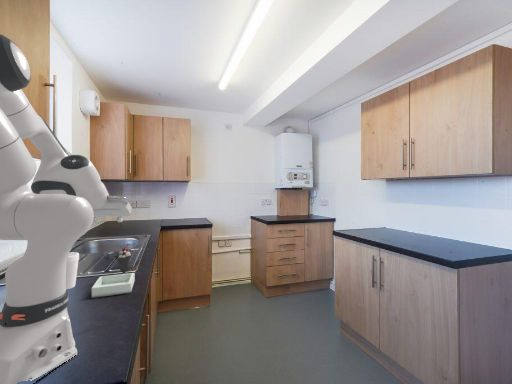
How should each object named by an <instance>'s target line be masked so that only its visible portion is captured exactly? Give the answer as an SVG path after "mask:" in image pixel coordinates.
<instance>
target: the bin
mask: <svg viewBox="0 0 512 384" xmlns="http://www.w3.org/2000/svg"><path fill="white" fill-rule="evenodd" d="M135 276H136V274H135V272H131V273H128V272H127V273H125V274H121V273H120V274H112V275H111V274H110V275H102V276H99V277H98V279H96V282H95V283H94V284H93V286H92V287H91V298H92V299H93V298H99V297H101V298H102V297H106V296H115V295H123V294H131V293H132V290H133V287H134V284H135V282H136V278H135Z"/></svg>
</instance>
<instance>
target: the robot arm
mask: <svg viewBox="0 0 512 384" xmlns="http://www.w3.org/2000/svg"><path fill="white" fill-rule="evenodd" d="M31 80H32V77H31V69H30V65H29V62H28V59H27V58H26V56H25V54H24V52H23V51H22V50H21V49H20V48H19V47H18V46H17V44H16V43H15V42H14V41H13V40H12V39H11V38H9V37H8V36H5V35H4V34H0V241H26V242H27V243H26V244H27V245H26V249H25V252H24V254H23V256H22V257H20V258H18V259H16V260H15V261H14V262H12V263H11V264H10V265H8V268H7V269H6V271H5V275H4V278H5V279H4V280H5V281H4V282H5V300H6V301H5V303H3V307H2V310H1V311H0V384H17V383H18V382H21V381H28V380H30V381H32V380H34V379H36V378H38V377H40V376H42V375H43V374H45V373H47V372H48V371H50V370H52V369H53V368H55V367H57V366H59V365H61V364H62V363H64V362H66V361H67V362H69V361H70V360H72V359H73V358H75V357H76V356H77V355H78V349H77V347H76V340H75V338H74V336H73V329H72V324H71V320H70V316H69V312H68V307H69V301H70V300H69V299H70V296H69V292H68V289H67V290H66V263H67V258H68V255H69V252H71V250H72V248H73V246H74V245H75V244H76V242H77V241H78V240H79V239H80V238H82V236H84V235H86V233H87V232H88V231H89V230H90V229H91V227H92V225H93V223H95V224H96V223H97V221H98V218H99V217H116V221H117V223H122V222H123V221H124V219H123V218H124V217H129V216H130V214H131V213H132V209H133V207H132V205H131V204H130V202H129V200H128V198H127V197H124V196H122V195H110V194H109V191H108V189H107V187H106V185H105V184H104V182H102V181H101V180H102V179H101V176H100V174H99V172H98V170H97V168H96V166H95V165H94V164H93V162H92V161H91V159H89V158H87V157H86V156H84V155H80V154H72V153H71V152H70V151H68V150H67V149H66V147H64V146H63V144H62V143H61V142H60V140H59V139H58V137H57V135H56V134H55V133H54V132H53V130H52V129H51V127H50V125H48V123H47V122H46V120H45V119H44V118H43V117H42V116H41V115H40V114H38V113H37V112H36V110H35V109H34V107H33V105H32V104H31V103H30V101H29V99H28V97H27V96H26V93H24V91H23V89H25V88H27V87H28V86H29V84H30V83H31ZM26 139H28V140H29V141H30V142H31V143H32V144H33V146H34V147H35V148H36V150H37V151H38V152H39V153H40V157H41V158H40V164H39V166H38V169H37V163H36V161H35V159H34V157H33V156H32V154H31V153H30V151H29V149H28V148H27V146H26V145H25V143H24V141H23V140H26ZM32 180H33V181H32ZM31 181H32V182H31ZM30 182H31V185H30V188H29V186H28V183H30ZM97 217H98V218H97ZM75 355H76V356H75ZM74 356H75V357H74ZM72 357H73V358H72ZM71 358H72V359H71ZM69 359H70V360H69ZM68 360H69V361H68ZM67 362H66V363H67ZM30 378H32V379H30Z"/></svg>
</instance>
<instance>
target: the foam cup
mask: <svg viewBox="0 0 512 384" xmlns="http://www.w3.org/2000/svg"><path fill="white" fill-rule="evenodd" d="M79 261H80V253H79V252H76V251H75V252H74V251H72V252H71V251H70V252H69V255H68V258H67V263H66V290H67V291H68V290H71V289H73V288H75V286H76V282H77V276H78V275H77V274H78V269H79V267H78V265H79Z"/></svg>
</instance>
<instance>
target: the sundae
mask: <svg viewBox="0 0 512 384" xmlns="http://www.w3.org/2000/svg"><path fill="white" fill-rule="evenodd" d="M126 246H130V244H129V243H127V245H126ZM129 250H130V249H128V248H126V247H123V248H122V249H120V250H119V252H118V253H117V251H116V252H115V256H114V259H115V260H116V261H117V268H118V270H120V271H121V273H122V274H126V271H127V270H128V269H129V267H130V262H131V261H130V260H131V257H132V256H133V255H132V254H131V252H130V251H129Z"/></svg>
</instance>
